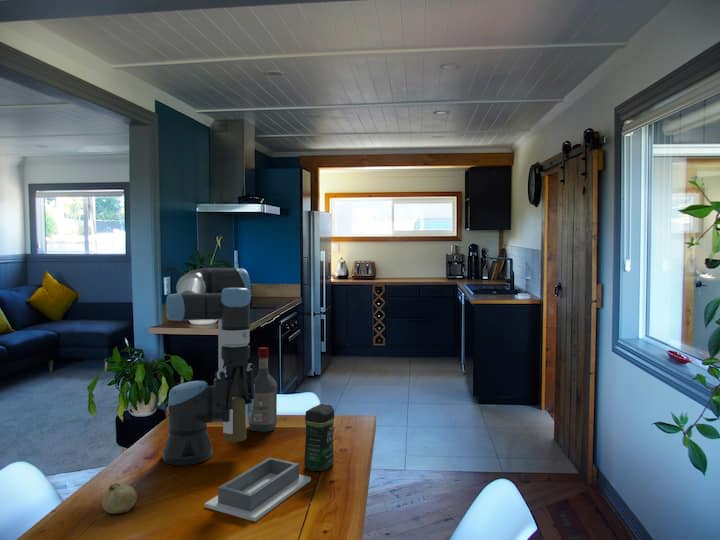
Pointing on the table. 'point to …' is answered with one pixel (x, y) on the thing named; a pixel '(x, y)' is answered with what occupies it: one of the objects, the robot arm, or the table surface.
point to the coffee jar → (319, 438)
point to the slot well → (258, 489)
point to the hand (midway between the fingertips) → (235, 429)
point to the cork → (237, 421)
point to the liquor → (264, 397)
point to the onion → (119, 498)
